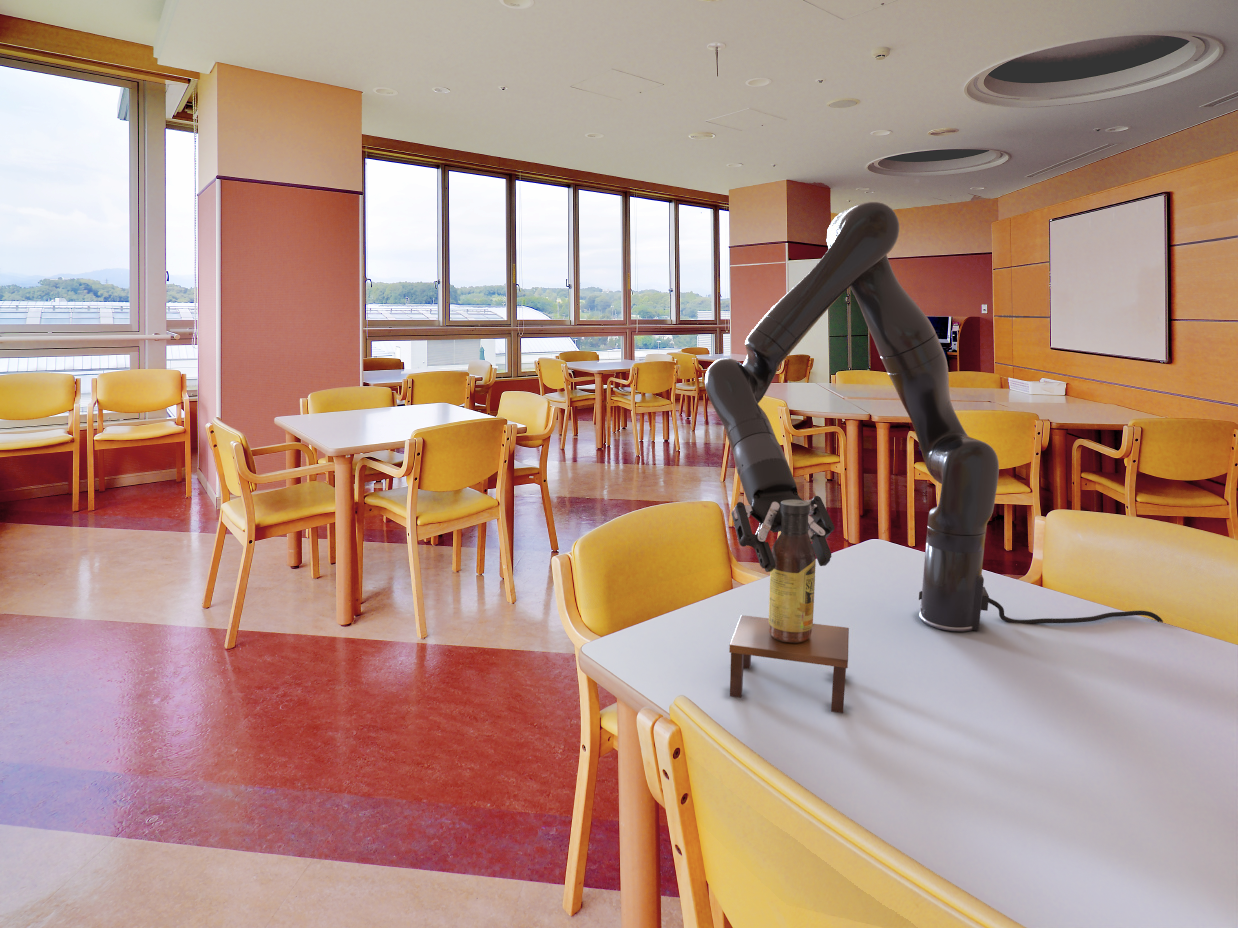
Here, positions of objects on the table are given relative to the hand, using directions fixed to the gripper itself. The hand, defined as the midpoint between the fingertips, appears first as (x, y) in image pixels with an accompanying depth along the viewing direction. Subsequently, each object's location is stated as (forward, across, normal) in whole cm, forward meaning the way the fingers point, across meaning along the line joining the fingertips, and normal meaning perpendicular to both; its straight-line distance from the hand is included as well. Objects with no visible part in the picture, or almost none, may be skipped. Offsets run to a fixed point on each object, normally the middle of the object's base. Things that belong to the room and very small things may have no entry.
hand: (798, 566), depth 102 cm
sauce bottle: (+7, 0, +9) cm, 11 cm away
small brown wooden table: (+12, 0, +14) cm, 19 cm away
